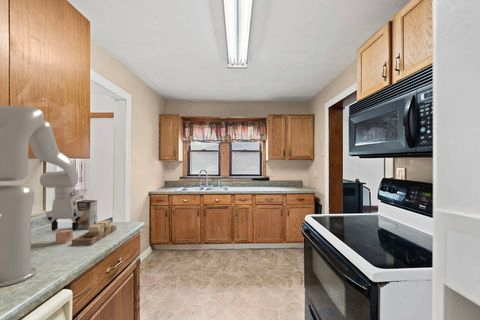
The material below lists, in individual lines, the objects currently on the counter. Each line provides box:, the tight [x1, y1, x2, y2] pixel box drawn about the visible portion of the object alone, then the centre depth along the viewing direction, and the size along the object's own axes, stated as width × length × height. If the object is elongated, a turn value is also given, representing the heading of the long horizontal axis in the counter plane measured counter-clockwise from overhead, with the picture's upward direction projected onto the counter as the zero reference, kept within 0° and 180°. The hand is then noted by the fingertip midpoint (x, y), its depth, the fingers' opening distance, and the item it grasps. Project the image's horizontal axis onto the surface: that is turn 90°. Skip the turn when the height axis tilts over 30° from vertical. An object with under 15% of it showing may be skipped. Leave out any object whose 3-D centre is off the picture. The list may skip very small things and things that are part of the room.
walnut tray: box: [71, 219, 117, 246], centre depth 126 cm, size 25×9×6 cm, turn 2°
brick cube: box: [55, 229, 74, 244], centre depth 119 cm, size 5×5×5 cm
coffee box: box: [76, 199, 98, 230], centre depth 144 cm, size 9×6×16 cm
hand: (64, 229), depth 120 cm, fingers open, 9 cm apart
